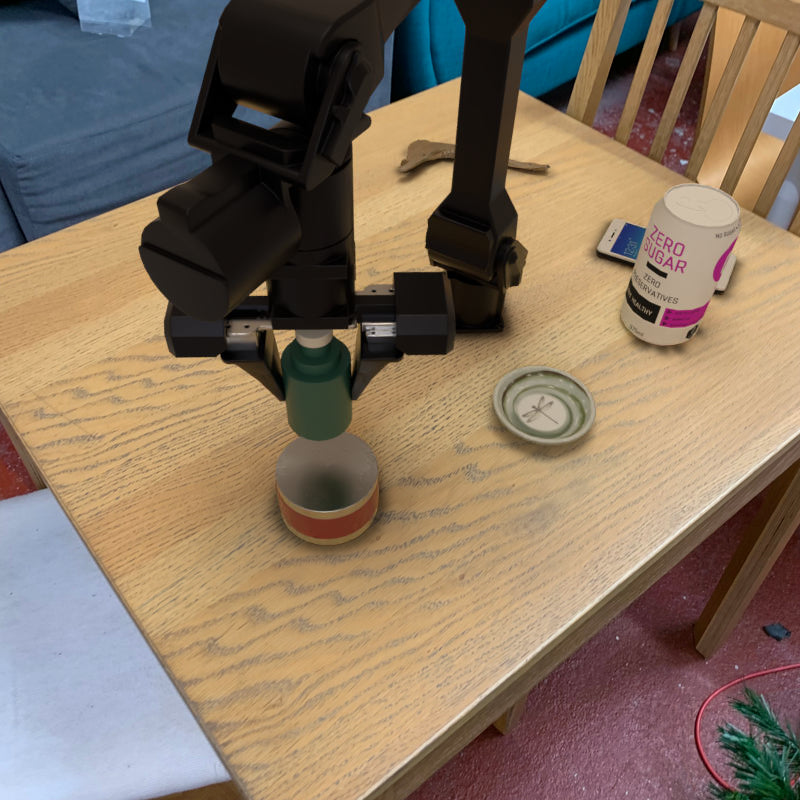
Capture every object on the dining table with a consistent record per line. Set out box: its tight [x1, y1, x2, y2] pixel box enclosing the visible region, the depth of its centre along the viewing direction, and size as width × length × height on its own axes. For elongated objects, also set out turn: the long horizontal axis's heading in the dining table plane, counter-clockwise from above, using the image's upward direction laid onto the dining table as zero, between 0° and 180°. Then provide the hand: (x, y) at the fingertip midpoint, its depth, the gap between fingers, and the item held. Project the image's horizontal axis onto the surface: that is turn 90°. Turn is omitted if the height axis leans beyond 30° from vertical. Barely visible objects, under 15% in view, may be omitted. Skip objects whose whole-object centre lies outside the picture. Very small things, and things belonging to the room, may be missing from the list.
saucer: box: [491, 365, 597, 446], centre depth 72 cm, size 10×10×2 cm
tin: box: [274, 430, 380, 546], centre depth 64 cm, size 8×8×5 cm
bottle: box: [280, 330, 353, 441], centre depth 56 cm, size 5×5×10 cm
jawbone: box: [396, 139, 551, 173], centre depth 102 cm, size 9×20×2 cm, turn 99°
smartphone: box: [595, 218, 737, 295], centre depth 89 cm, size 8×1×15 cm
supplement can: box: [619, 182, 742, 346], centre depth 77 cm, size 8×8×15 cm
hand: (319, 396), depth 57 cm, fingers closed on bottle, 5 cm apart
